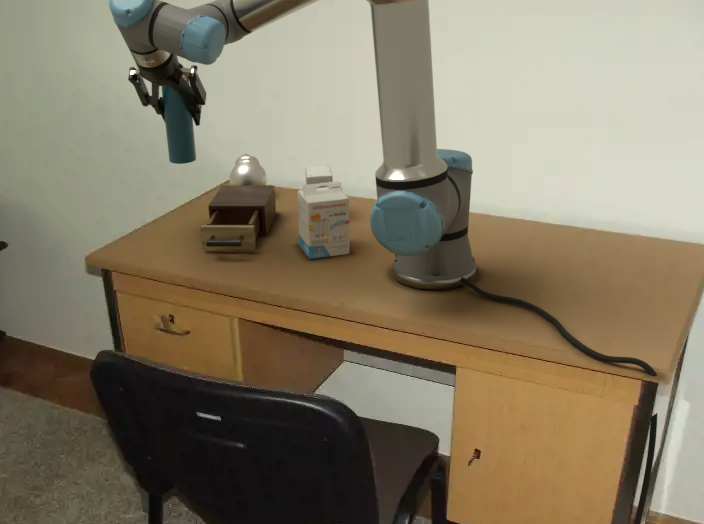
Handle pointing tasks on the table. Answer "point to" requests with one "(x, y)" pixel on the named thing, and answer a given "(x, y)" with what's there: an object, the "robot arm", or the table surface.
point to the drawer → (232, 229)
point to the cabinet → (247, 202)
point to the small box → (318, 175)
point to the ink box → (323, 220)
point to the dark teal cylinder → (178, 126)
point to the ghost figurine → (248, 172)
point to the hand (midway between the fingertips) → (183, 119)
